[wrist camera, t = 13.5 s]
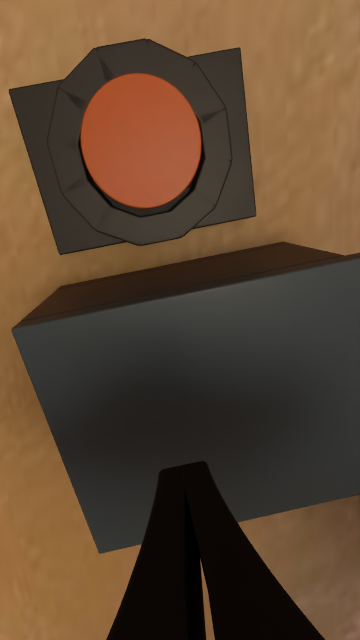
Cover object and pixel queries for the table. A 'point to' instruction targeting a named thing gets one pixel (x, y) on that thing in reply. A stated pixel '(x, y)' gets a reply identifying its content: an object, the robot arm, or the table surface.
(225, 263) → the cooker
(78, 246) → the switch block
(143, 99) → the button
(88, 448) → the lid
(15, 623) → the table surface
